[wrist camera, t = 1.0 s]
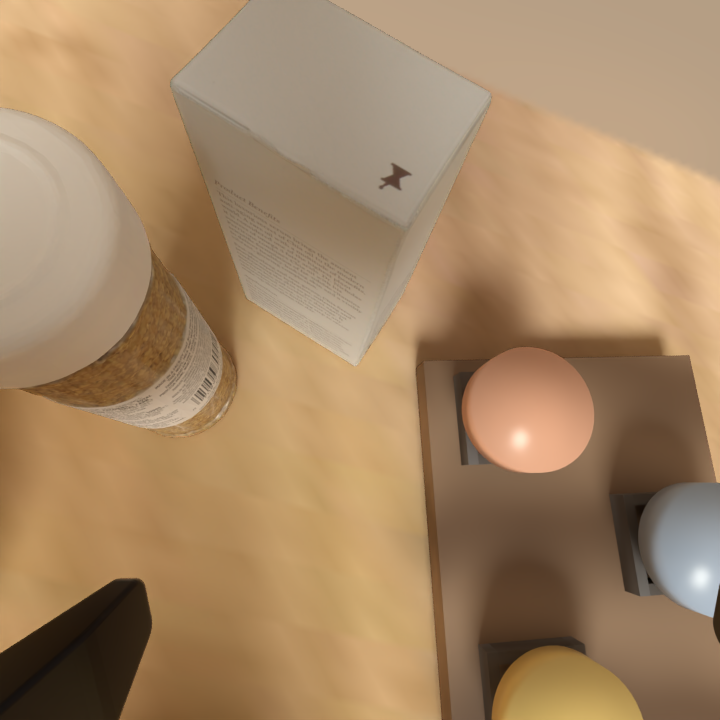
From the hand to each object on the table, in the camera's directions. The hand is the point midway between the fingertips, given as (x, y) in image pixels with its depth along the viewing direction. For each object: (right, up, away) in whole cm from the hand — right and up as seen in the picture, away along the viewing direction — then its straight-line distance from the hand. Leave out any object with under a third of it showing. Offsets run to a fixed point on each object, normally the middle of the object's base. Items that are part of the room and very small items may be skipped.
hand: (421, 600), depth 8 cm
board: (+8, -4, +13) cm, 15 cm away
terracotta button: (+5, +2, +11) cm, 12 cm away
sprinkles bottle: (-8, +3, +13) cm, 16 cm away
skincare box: (-3, +7, +14) cm, 16 cm away
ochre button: (+5, -8, +9) cm, 13 cm away
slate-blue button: (+11, -3, +11) cm, 16 cm away
